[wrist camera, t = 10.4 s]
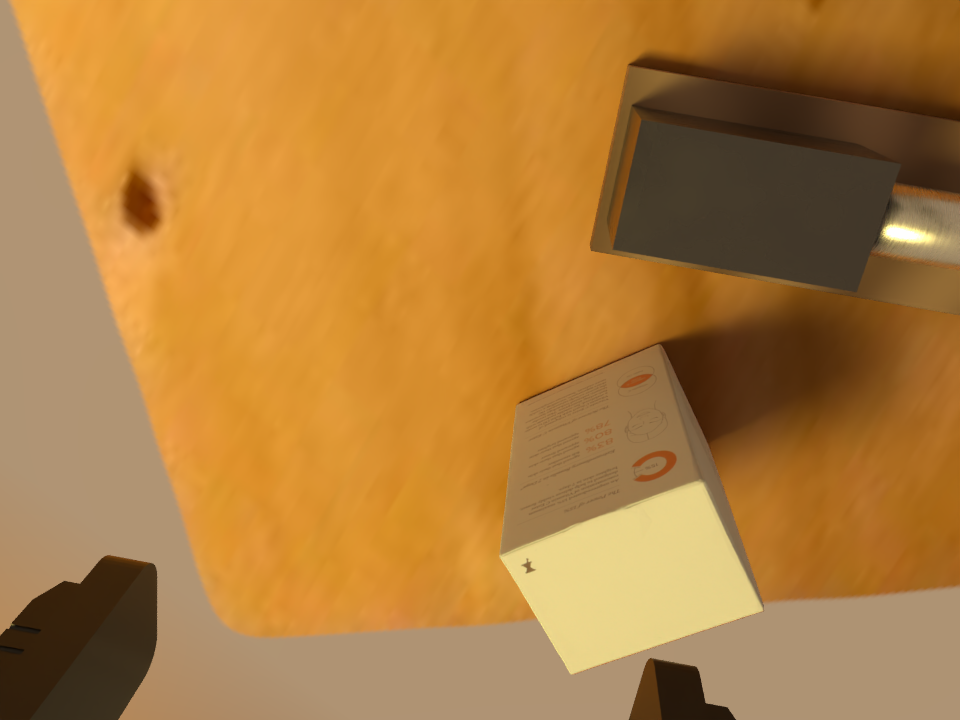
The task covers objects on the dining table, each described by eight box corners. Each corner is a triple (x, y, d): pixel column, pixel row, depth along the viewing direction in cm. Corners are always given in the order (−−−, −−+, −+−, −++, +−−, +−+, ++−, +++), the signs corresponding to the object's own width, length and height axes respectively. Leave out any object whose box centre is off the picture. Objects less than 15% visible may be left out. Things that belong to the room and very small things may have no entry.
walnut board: (590, 243, 39) (590, 250, 38) (628, 64, 36) (630, 66, 35) (1117, 336, 39) (1133, 345, 38) (1202, 161, 36) (1223, 166, 34)
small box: (566, 500, 45) (567, 680, 33) (513, 402, 43) (493, 555, 31) (712, 444, 43) (769, 614, 31) (663, 339, 41) (703, 476, 29)
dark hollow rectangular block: (606, 220, 38) (612, 249, 33) (631, 105, 36) (641, 119, 31) (820, 257, 37) (856, 292, 33) (857, 143, 35) (901, 163, 31)
